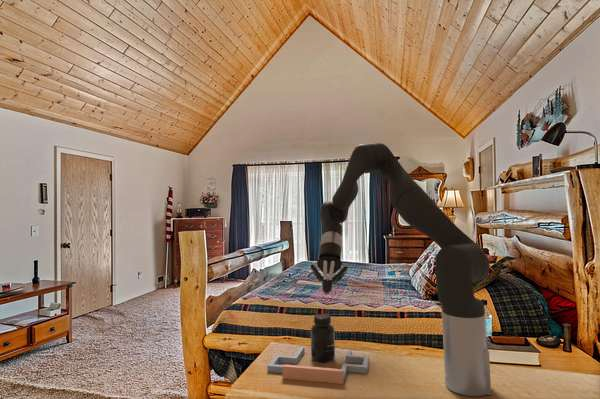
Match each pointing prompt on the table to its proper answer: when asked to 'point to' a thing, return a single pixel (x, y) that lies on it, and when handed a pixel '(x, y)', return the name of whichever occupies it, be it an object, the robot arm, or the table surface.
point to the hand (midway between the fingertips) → (326, 292)
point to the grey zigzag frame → (317, 368)
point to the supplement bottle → (322, 339)
